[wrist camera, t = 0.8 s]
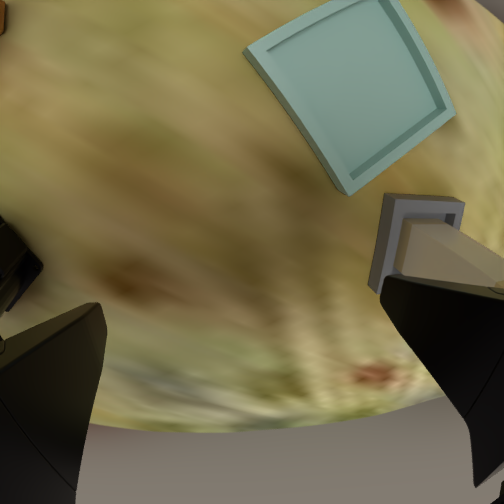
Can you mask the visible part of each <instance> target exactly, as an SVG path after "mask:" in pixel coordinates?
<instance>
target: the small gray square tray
mask: <svg viewBox="0 0 504 504" xmlns="http://www.w3.org/2000/svg"><path fill="white" fill-rule="evenodd" d="M464 206H465V202H462V201H460V200H458V199H456V198H454V197H442V196H427V195H410V194H389V193H384V199H383V206H382V212H381V218H380V224H379V230H378V236H377V241H376V247H375V252H374V257H373V262H372V267H371V272H370V277H369V282H368V286H369V287H370V288H371V289H372V290H373V291H374V292H375V293H376V294H381V289H382V285H383V280H384V278H385V277H386V276H387V275H394V274H397V275H403V274H402V273H401V272H399V271H398V270H397V269H396V268H395V267H394V266H393V264H394V260H395V255H396V250H397V246H398V241H399V236H400V231H401V226H402V220H403V218H426V219H440V220H442V221H443V222H445V223H447V224H449V225H450V226H452V227H454V228H456V229H457V230H459V229H460V225H461V221H462V216H463V211H464Z"/></svg>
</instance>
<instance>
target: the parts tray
mask: <svg viewBox="0 0 504 504" xmlns="http://www.w3.org/2000/svg"><path fill="white" fill-rule="evenodd" d="M242 53H243V54H244V55H245V57H246V58H247V59H248V60H249V62H250V63H251V64H252V66H253V67H254V68H255V69H256V71H257V72H258V73H259V75H260V76H261V77H262V79H263V80H264V81H265V83H266V84H267V85H268V87H269V88H270V89H271V91H272V92H273V93H274V95H275V96H276V97H277V99H278V100H279V102H280V103H281V104H282V106H283V107H284V109H285V110H286V111H287V113H288V114H289V116H290V117H291V119H292V120H293V121H294V123H295V124H296V126H297V127H298V129H299V130H300V132H301V133H302V135H303V136H304V138H305V139H306V141H307V142H308V144H309V145H310V147H311V148H312V150H313V151H314V153H315V154H316V156H317V157H318V159H319V160H320V162H321V163H322V165H323V167H324V168H325V170H326V171H327V173H328V175H329V176H330V178H331V179H332V181H333V183H334V184H335V186H336V188H337V189H338V190H339V191H340V192H342V193H344V194H345V195H347V196H348V197H350V196H351V195H353V194H354V193H355V192H356V191H358V190H359V189H360V188H362V187H363V186H364V185H366V184H367V183H368V182H370V181H371V180H372V179H373V178H375V177H376V176H377V175H379V174H380V173H381V172H382V171H384V170H385V169H386V168H388V167H389V166H390V165H392V164H393V163H394V162H395V161H397V160H398V159H399V158H401V157H402V156H403V155H404V154H406V153H407V152H408V151H410V150H411V149H412V148H413V147H415V146H416V145H417V144H419V143H420V142H421V141H422V140H424V139H425V138H426V137H428V136H429V135H430V134H431V133H433V132H434V131H435V130H436V129H438V128H439V127H440V126H442V125H443V124H444V123H445V122H447V121H448V120H449V119H450V118H452V117H453V116H454V115H455V114H456V112H455V109H454V107H453V104H452V102H451V99H450V97H449V95H448V92H447V90H446V88H445V85H444V83H443V81H442V79H441V77H440V75H439V72H438V70H437V68H436V66H435V64H434V62H433V60H432V58H431V56H430V54H429V52H428V50H427V49H426V47H425V45H424V43H423V41H422V39H421V37H420V36H419V34H418V32H417V30H416V29H415V27H414V25H413V23H412V22H411V20H410V18H409V17H408V15H407V13H406V12H405V10H404V9H403V7H402V6H401V4H400V2H399V1H398V0H332V1H329V2H327V3H325V4H323V5H321V6H319V7H317V8H315V9H313V10H311V11H309V12H307V13H305V14H303V15H301V16H300V17H298V18H296V19H294V20H292V21H290V22H288V23H287V24H285V25H283V26H281V27H279V28H278V29H276V30H274V31H273V32H271V33H269V34H267V35H266V36H264V37H262V38H261V39H259V40H257V41H256V42H254V43H253V44H251V45H249V46H248V47H246V49H245V50H244V51H243V52H242Z"/></svg>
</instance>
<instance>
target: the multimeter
mask: <svg viewBox="0 0 504 504" xmlns="http://www.w3.org/2000/svg"><path fill="white" fill-rule="evenodd" d="M4 12H5V2H4V1H2V0H0V35H1V34H2V33H3V30H4Z"/></svg>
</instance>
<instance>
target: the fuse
mask: <svg viewBox="0 0 504 504" xmlns="http://www.w3.org/2000/svg"><path fill="white" fill-rule="evenodd" d="M393 266H394V267H395V268H396V269H397V270H398V271H399V272H401V273H402V274H403V275H405V276H412V277H419V278H427V279H434V280H441V281H449V282H456V283H463V284H471V285H478V286H485V287H496V288H504V258H502V257H501V256H499V255H498V254H496V253H495V252H493V251H491V250H490V249H488V248H487V247H485V246H484V245H482V244H480V243H479V242H477V241H476V240H474V239H472V238H471V237H469V236H467V235H466V234H464V233H462V232H461V231H459V230H457V229H456V228H454V227H452V226H450V225H449V224H447V223H445V222H443V221H442V220H440V219H426V218H403V220H402V226H401V231H400V236H399V241H398V246H397V250H396V255H395V260H394V264H393Z"/></svg>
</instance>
